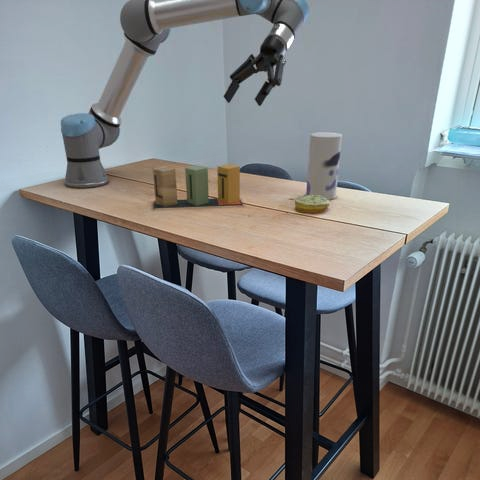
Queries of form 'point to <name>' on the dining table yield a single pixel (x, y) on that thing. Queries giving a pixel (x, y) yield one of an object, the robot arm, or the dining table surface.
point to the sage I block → (197, 185)
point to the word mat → (211, 203)
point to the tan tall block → (165, 186)
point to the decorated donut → (311, 203)
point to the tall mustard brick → (228, 183)
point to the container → (323, 164)
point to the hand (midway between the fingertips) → (241, 101)
